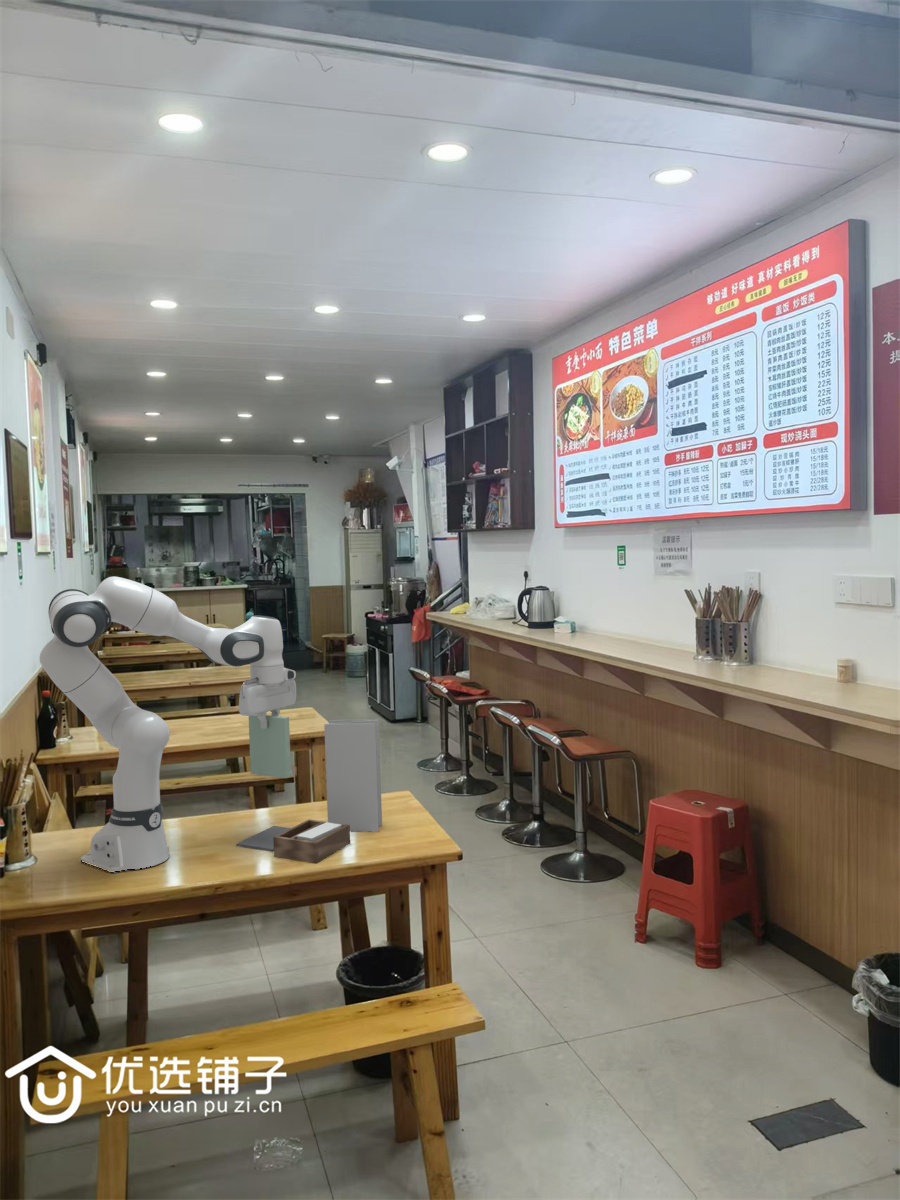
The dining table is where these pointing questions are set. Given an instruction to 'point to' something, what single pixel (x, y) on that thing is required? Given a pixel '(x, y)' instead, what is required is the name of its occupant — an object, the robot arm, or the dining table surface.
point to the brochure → (353, 773)
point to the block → (270, 747)
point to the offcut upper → (318, 832)
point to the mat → (263, 839)
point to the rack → (310, 842)
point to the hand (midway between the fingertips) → (269, 726)
